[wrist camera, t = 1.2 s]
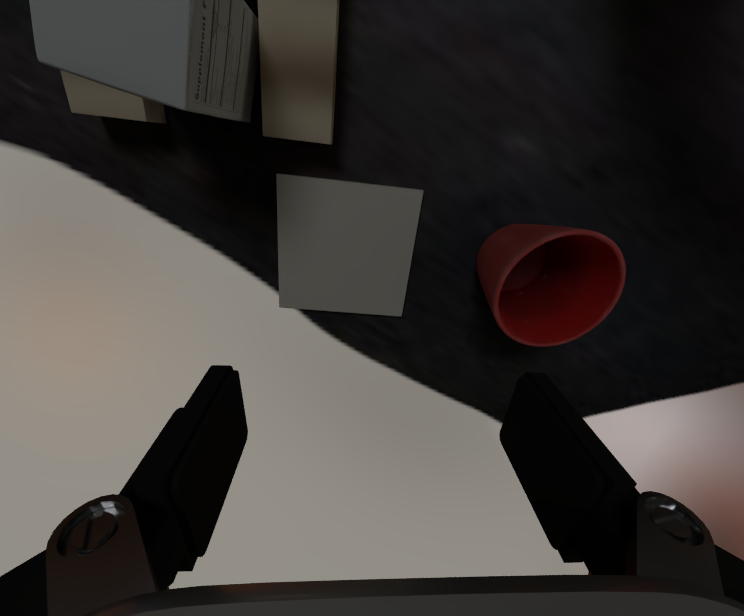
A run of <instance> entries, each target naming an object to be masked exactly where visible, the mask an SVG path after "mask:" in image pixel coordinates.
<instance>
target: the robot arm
mask: <svg viewBox="0 0 744 616" xmlns="http://www.w3.org/2000/svg"><path fill="white" fill-rule="evenodd" d="M247 434H248V429H247V423H246V416H245V410H244V404H243V397H242V392H241V385H240V378H239V373H238V371H236V370H233V368H232V366H218V365H216V366H215V365H213V366H211V367H210V368H209V370H208V371H207V373H206V374H205V376H204V377H203V379H202V380H201V382H200V384H199V385H198V387H197V388H196V390H195V391H194V393H193V394H192V396H191V397H190V399H189V400H188V402H187V403H186V405H185V407H184V408H179V409H177V410H176V411H175V412H174V413H173V415H172V416H171V418H170V419H169V421H168V422H167V424H166V425H165V427H164V428H163V430H162V431H161V433H160V434H159V436H158V437H157V439H156V440H155V441H154V443H153V444H152V446H151V448H150V449H149V450H148V452H147V453H146V455H145V456H144V458H143V459H142V461H141V462H140V464H139V465H138V467H137V468H136V470H135V471H134V473H133V474H132V476H131V477H130V479H129V480H128V482H127V483H126V484H125V486H124V488H123V489H122V491H121V492H120V494H119V495H114V494H112V495H107V496H101V497H99V498H96V499H94V500H91V501H89V502H87V503H85V504H84V505H82V506H80V507H79V508H77V509H76V510H74V511H73V512H72V513H71V514H69V515H68V516H67V517H66V518H65V519H63V521H62V522H61V523H60V524H59V525H58V526H57V528H56V529H55V530H54V531H53V533H52V535H51V537H50V539H49V541H48V543H47V548H46V550H44V551H43V552H41V553H39V554H38V555H36V556H34V557H33V558H31V559H29V560H27V561H26V562H24V563H23V564H21V565H19V566H17V567H16V568H14V569H12V570H11V571H9V572H8V573H6V574H4V575H2V576H1V577H0V616H744V561H743V560H741V559H739V558H738V557H736V556H734V555H732V554H731V553H729V552H727V551H725V550H723V549H722V548H720V547H718V546H717V545H715V544H714V542H713V539H712V536H711V534H710V531H709V530H708V529H707V527H706V526H705V524H704V523H703V522H702V521H701V520H700V519H699V518H698V517H697V516H696V515H695V514H694V513H693V512H692V511H691V510H690V509H688V508H687V507H686V506H684V505H683V504H681V503H680V502H678V501H676V500H675V499H673V498H671V497H669V496H666V495H664V494H661V493H657V492H652V491H648V492H643V493H641V494H640V493H639V492H638V491H637V490H636V488H635V486H636V482H635V481H634V480H633V479H632V478H631V476H630V475H629V474H628V473H627V471H626V470H625V469H624V468H623V467H622V465H621V464H620V463H619V462H618V461H617V459H616V458H615V457H614V456H613V455H612V453H611V452H610V451H609V450H608V449H607V447H606V446H605V445H604V444H603V443H602V441H601V440H600V439H599V438H598V437H597V436H596V434H595V433H594V432H593V430H592V429H591V428H590V427H589V426H588V424H587V423H586V422H585V421H584V420H583V418H582V417H581V416H580V415H579V414H578V412H577V411H576V410H575V409H574V408H573V406H572V405H571V404H570V403H569V401H568V400H567V399H566V398H565V397H564V395H563V394H562V393H561V392H560V391H559V389H558V388H557V387H556V386H555V385H554V383H553V382H552V381H551V380H550V379H549V377H548V376H547V375H546V374H545V373H531V372H527V373H525V374H524V375H523V377H520V378H519V379H518V381H517V384H516V387H515V390H514V393H513V396H512V398H511V401H510V404H509V407H508V410H507V413H506V416H505V419H504V421H503V424H502V427H501V430H500V441H501V444H502V446H503V448H504V450H505V452H506V454H507V456H508V458H509V460H510V462H511V464H512V467H513V468H514V470H515V472H516V475H517V477H518V479H519V481H520V483H521V485H522V487H523V489H524V491H525V493H526V495H527V497H528V499H529V501H530V503H531V505H532V507H533V510H534V511H535V513H536V515H537V518H538V520H539V522H540V524H541V526H542V528H543V530H544V532H545V534H546V536H547V538H548V540H549V542H550V544H551V546H552V547H553V548H554V549H556V550H558V552H559V554H560V555H561V557H562V559H563V561H564V563H572V562H583V561H584V563H585V565H586V567H587V568H588V570H589V573H588V575H542V576H541V575H540V576H488V577H447V578H407V579H369V580H337V581H304V582H271V583H250V584H230V585H212V586H196V587H187V588H177V589H169V587H168V586H170V585H171V584H172V583H173V582H174V579H175V577H176V574H177V572H178V571H192V570H193V568H194V565H195V562H196V560H197V557H202V556H203V555H204V554H205V552H206V550H207V547H208V545H209V542H210V539H211V536H212V533H213V531H214V528H215V525H216V523H217V520H218V517H219V515H220V512H221V509H222V506H223V504H224V501H225V498H226V495H227V493H228V490H229V487H230V484H231V482H232V478H233V476H234V474H235V470H236V468H237V465H238V462H239V460H240V457H241V454H242V451H243V449H244V446H245V443H246V440H247Z"/></svg>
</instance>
